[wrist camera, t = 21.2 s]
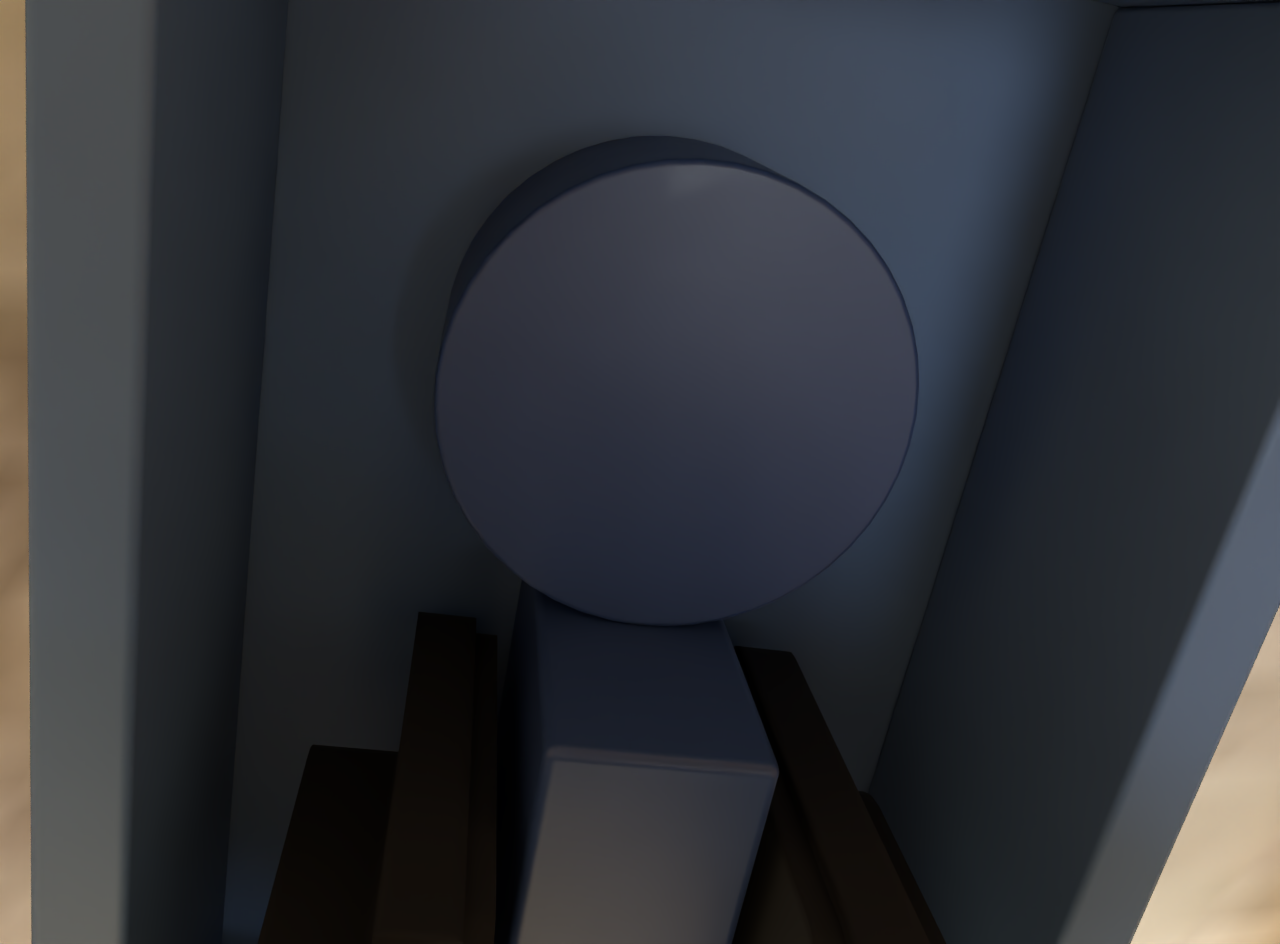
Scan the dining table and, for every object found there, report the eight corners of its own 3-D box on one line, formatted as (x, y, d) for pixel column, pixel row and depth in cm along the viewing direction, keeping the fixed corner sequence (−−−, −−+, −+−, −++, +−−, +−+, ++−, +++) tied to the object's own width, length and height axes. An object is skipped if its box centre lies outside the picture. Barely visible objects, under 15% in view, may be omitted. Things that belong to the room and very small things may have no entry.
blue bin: (240, -276, 8) (16, -541, 4) (1162, -52, 10) (1599, -109, 6) (175, 941, 12) (29, 1348, 8) (831, 975, 14) (958, 1340, 10)
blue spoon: (474, 96, 9) (459, 134, 6) (896, 177, 9) (1103, 254, 6) (365, 948, 12) (313, 1293, 9) (689, 965, 12) (755, 1293, 9)
